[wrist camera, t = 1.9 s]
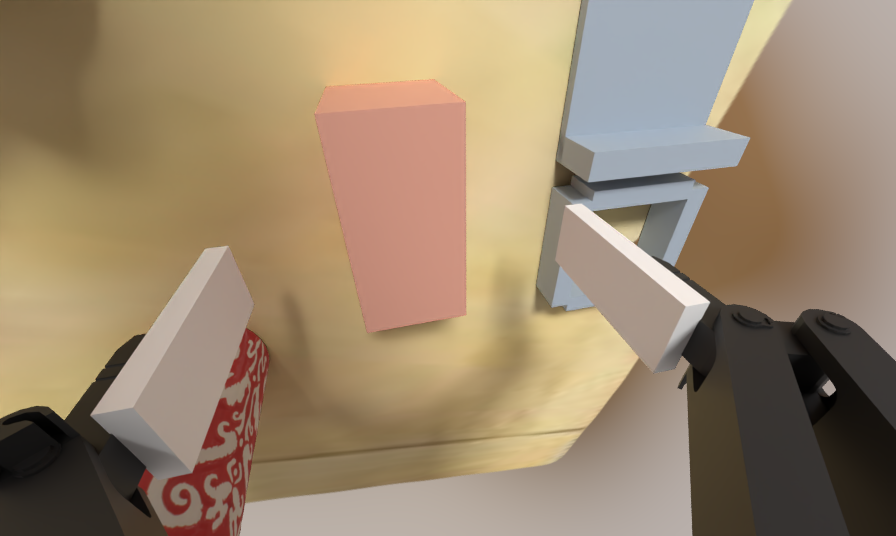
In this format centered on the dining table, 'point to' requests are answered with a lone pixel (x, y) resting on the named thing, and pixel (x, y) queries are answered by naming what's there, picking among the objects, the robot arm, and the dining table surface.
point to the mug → (218, 456)
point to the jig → (642, 121)
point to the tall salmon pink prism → (400, 196)
